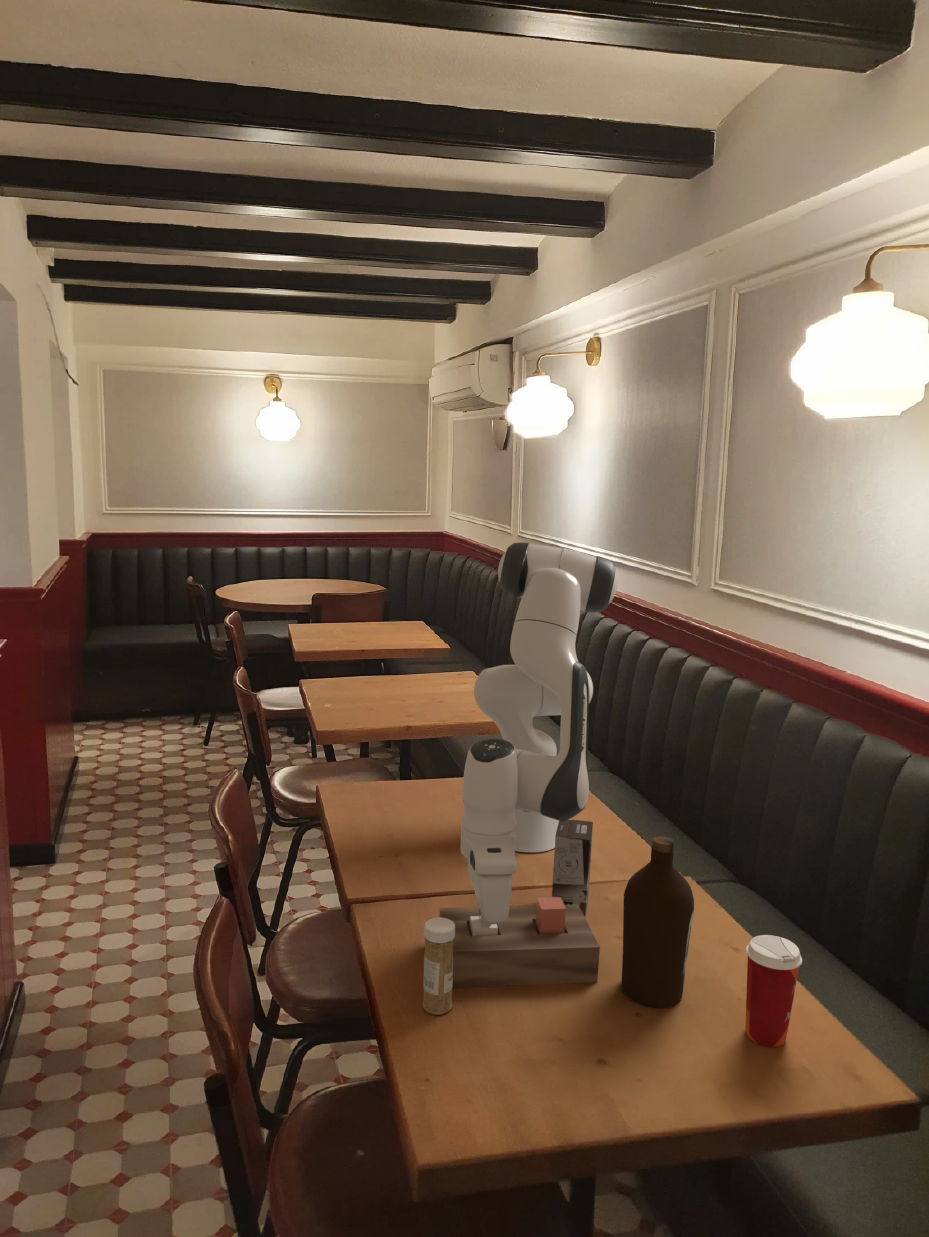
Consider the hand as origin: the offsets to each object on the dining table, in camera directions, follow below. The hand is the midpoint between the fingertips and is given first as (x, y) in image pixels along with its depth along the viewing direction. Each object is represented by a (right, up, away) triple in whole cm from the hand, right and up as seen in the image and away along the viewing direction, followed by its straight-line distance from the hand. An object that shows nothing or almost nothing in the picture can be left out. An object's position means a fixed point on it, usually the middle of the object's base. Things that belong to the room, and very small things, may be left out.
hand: (484, 922), depth 148 cm
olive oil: (+26, -9, -5) cm, 28 cm away
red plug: (+11, -3, +2) cm, 11 cm away
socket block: (+5, -7, +2) cm, 9 cm away
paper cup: (+40, -12, -15) cm, 45 cm away
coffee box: (+16, -5, +19) cm, 26 cm away
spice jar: (-7, -9, -11) cm, 16 cm away
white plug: (0, -6, +1) cm, 6 cm away
